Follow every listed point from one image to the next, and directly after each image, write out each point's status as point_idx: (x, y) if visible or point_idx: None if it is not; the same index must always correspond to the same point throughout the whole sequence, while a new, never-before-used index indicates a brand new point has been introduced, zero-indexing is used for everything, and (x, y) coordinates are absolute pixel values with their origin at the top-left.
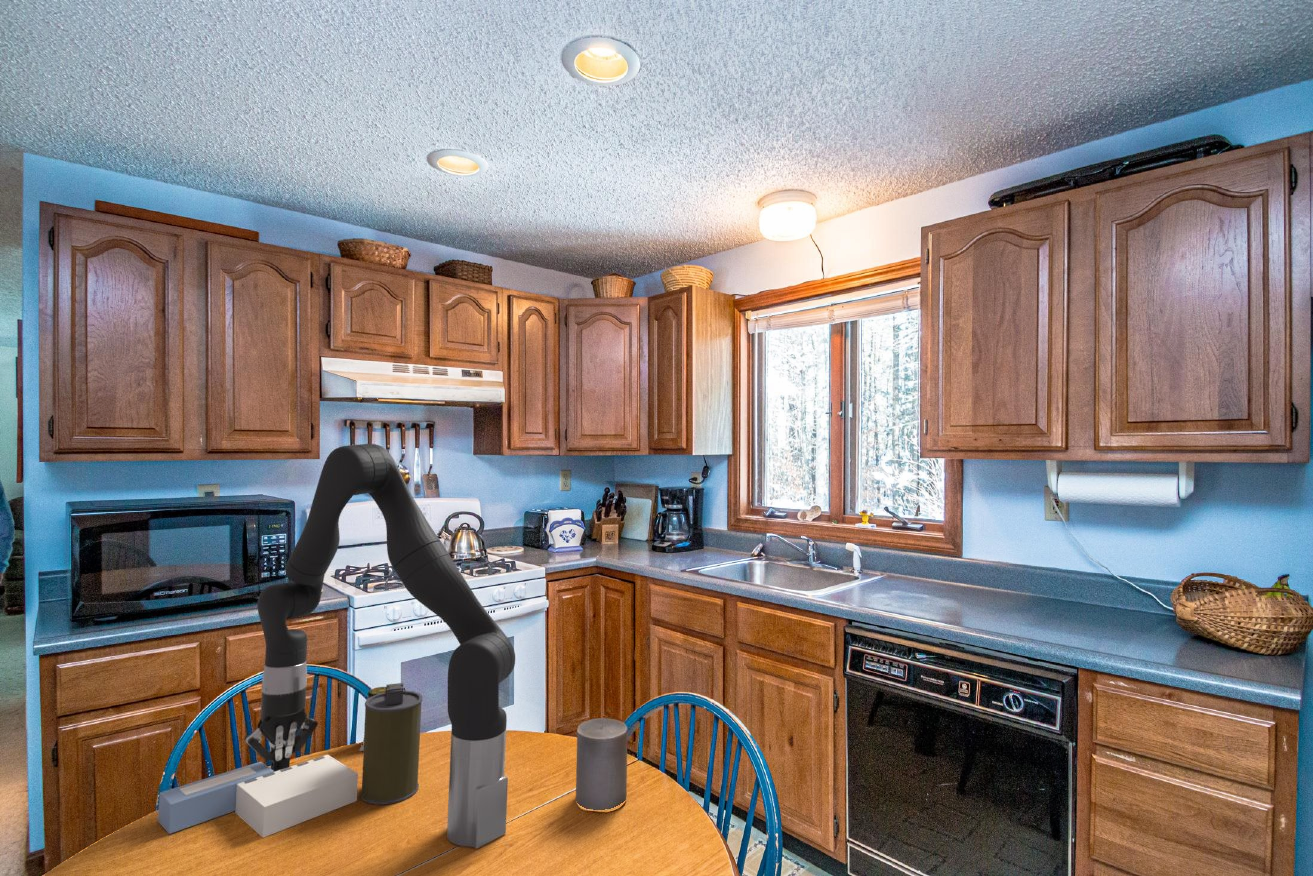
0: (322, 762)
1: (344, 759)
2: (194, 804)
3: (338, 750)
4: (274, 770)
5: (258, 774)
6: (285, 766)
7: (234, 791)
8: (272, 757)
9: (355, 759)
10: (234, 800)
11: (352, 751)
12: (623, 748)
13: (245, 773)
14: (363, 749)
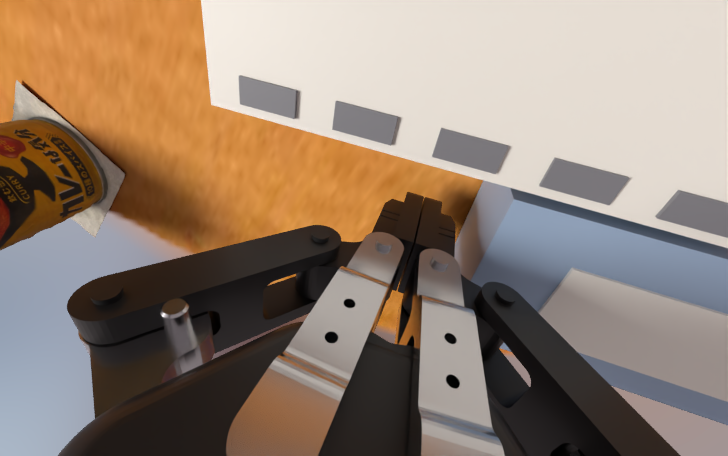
0: (277, 20)
1: (176, 172)
2: None
3: (173, 235)
4: (450, 237)
5: (586, 244)
6: (405, 216)
7: None
8: (465, 289)
9: (148, 138)
10: None
11: (143, 194)
12: None
13: (600, 307)
14: (112, 173)
